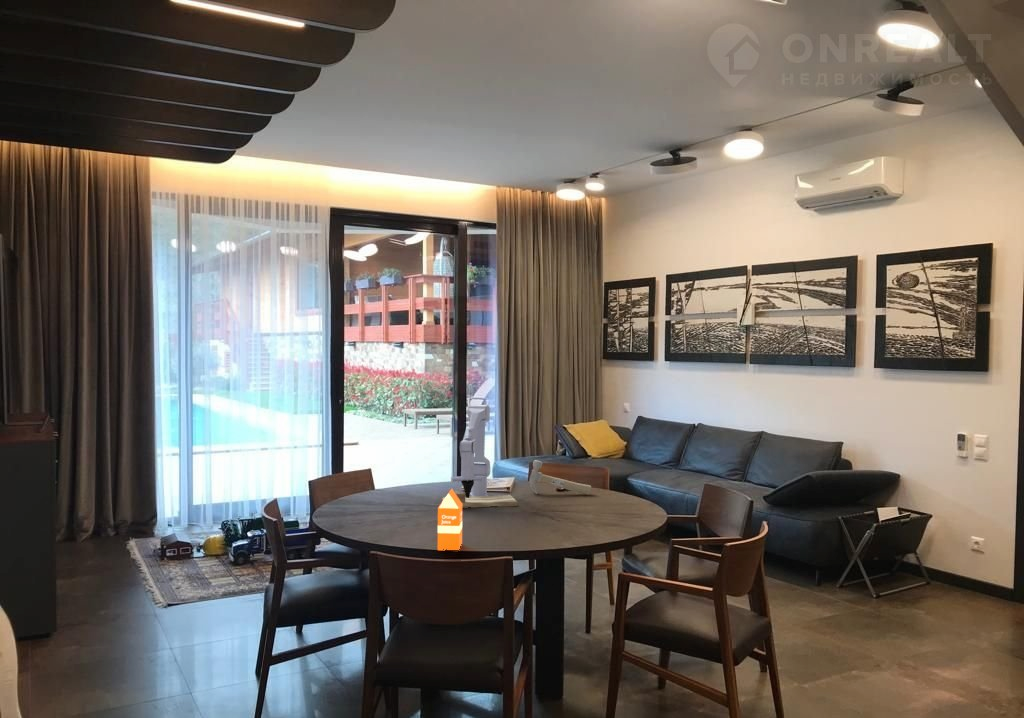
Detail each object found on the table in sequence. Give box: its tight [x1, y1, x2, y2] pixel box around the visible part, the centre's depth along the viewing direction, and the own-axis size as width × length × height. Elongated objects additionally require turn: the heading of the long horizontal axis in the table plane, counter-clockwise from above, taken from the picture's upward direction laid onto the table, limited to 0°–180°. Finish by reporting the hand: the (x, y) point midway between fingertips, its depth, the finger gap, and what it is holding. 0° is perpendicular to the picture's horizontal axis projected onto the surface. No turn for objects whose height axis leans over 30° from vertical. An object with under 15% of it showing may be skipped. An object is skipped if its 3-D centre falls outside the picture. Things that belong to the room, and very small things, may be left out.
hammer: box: [528, 459, 592, 496], centre depth 343 cm, size 16×5×30 cm
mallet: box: [454, 490, 466, 503], centre depth 316 cm, size 10×5×4 cm, turn 12°
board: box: [441, 494, 518, 509], centre depth 319 cm, size 14×32×2 cm, turn 102°
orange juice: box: [437, 488, 463, 551], centre depth 247 cm, size 8×9×20 cm
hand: (467, 497), depth 314 cm, fingers closed
